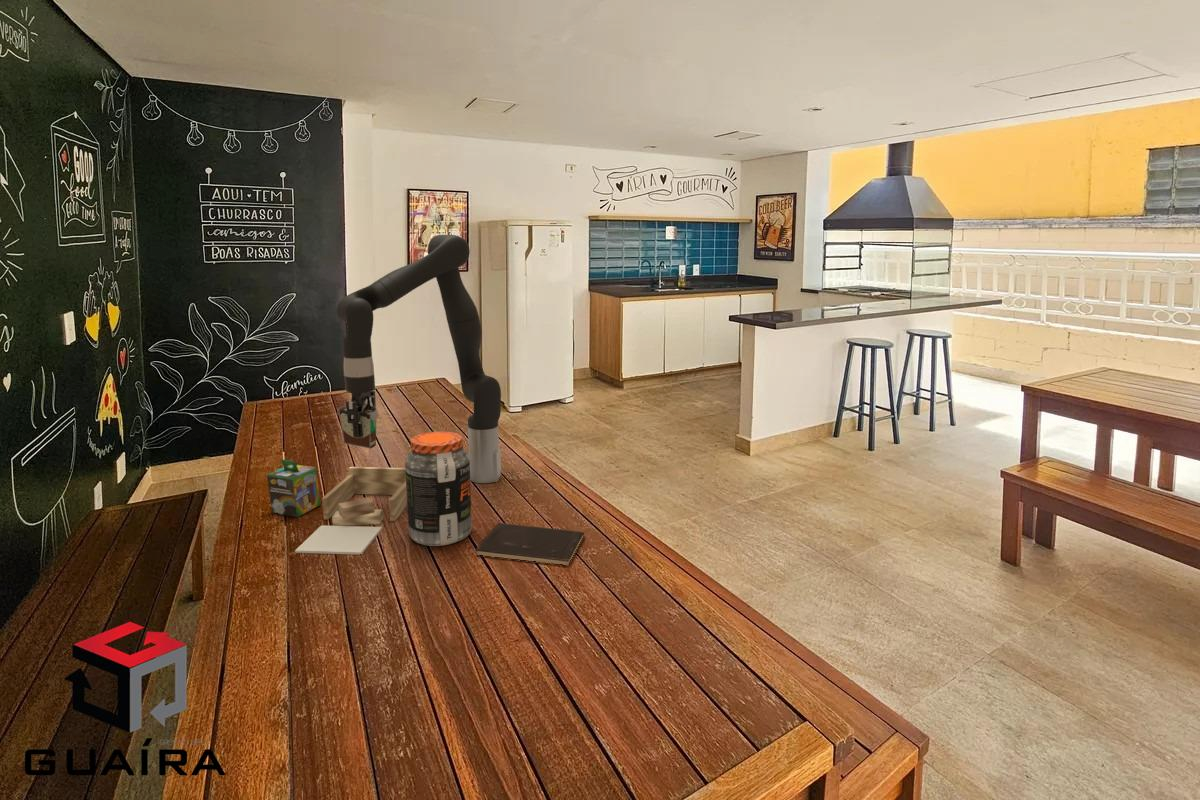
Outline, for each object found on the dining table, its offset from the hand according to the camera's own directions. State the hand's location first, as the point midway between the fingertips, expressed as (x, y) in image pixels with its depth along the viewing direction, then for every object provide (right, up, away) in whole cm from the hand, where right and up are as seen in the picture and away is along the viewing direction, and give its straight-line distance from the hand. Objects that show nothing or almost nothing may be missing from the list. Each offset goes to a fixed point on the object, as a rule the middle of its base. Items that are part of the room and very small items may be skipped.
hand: (363, 433), depth 178 cm
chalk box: (-20, -22, +4) cm, 30 cm away
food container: (0, -3, +1) cm, 3 cm away
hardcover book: (+47, -28, -15) cm, 57 cm away
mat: (-1, -26, -14) cm, 30 cm away
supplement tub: (+23, -26, -10) cm, 36 cm away
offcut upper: (0, -21, -4) cm, 21 cm away
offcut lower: (0, -24, -3) cm, 24 cm away
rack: (0, -21, +7) cm, 22 cm away
